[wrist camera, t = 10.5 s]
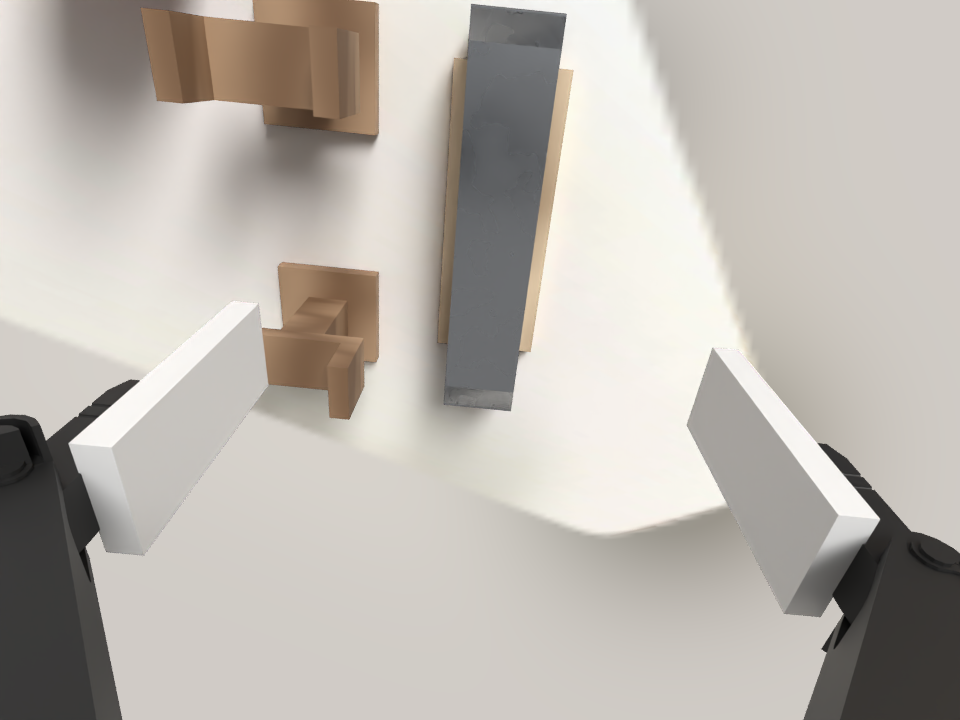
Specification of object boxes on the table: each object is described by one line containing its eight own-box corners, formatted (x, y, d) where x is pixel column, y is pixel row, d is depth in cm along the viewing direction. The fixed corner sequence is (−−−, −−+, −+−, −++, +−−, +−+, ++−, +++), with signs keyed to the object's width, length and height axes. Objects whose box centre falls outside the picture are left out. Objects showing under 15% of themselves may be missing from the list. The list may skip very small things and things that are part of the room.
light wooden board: (439, 335, 35) (437, 342, 35) (455, 58, 28) (453, 57, 27) (529, 344, 35) (530, 352, 35) (571, 69, 28) (573, 70, 27)
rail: (449, 371, 36) (443, 404, 32) (476, 12, 26) (471, 4, 22) (510, 377, 36) (510, 411, 32) (558, 21, 26) (566, 13, 22)
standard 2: (261, 121, 30) (164, 142, 21) (248, -10, 27) (131, -45, 18) (387, 134, 30) (340, 160, 21) (388, 5, 27) (335, -24, 18)
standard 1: (282, 346, 36) (215, 430, 28) (274, 261, 33) (197, 325, 25) (385, 357, 36) (349, 443, 28) (386, 272, 34) (346, 340, 25)
